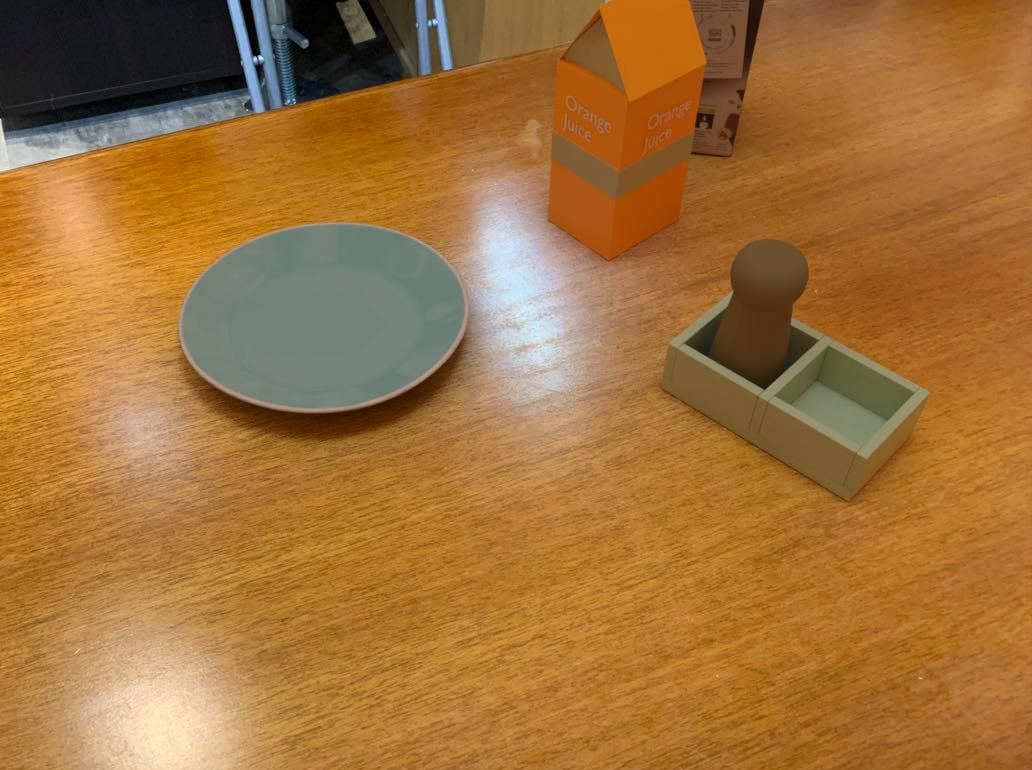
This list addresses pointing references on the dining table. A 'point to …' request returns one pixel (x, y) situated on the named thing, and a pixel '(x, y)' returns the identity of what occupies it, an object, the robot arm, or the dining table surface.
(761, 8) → the coffee box
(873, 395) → the tray
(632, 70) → the orange juice
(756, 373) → the brown pawn
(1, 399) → the dining table surface
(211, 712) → the dining table surface
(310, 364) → the plate
